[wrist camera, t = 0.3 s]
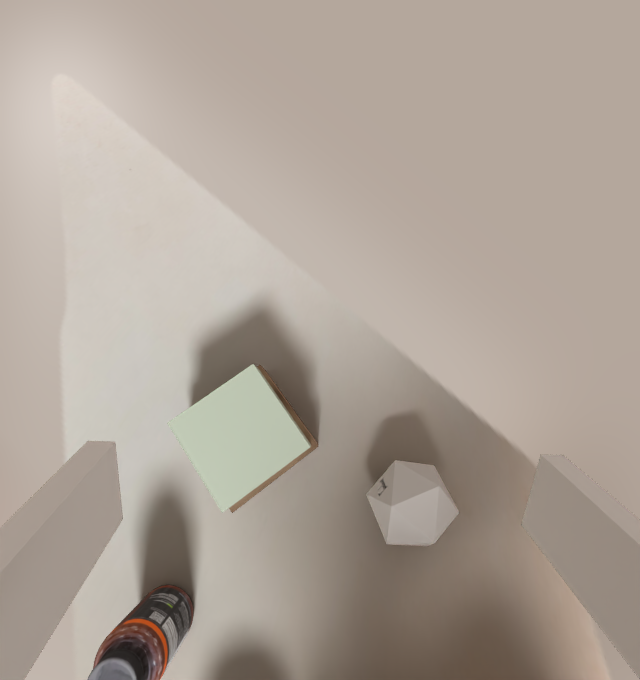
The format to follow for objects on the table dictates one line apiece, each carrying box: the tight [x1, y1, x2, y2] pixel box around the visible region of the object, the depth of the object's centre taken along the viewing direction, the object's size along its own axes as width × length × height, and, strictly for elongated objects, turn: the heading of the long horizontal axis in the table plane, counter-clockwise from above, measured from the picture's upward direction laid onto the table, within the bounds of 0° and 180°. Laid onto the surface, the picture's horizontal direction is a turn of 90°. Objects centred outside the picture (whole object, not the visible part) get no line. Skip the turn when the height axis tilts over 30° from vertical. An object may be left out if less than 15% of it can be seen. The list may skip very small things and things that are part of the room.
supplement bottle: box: [88, 585, 193, 680], centre depth 33 cm, size 6×6×11 cm
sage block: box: [168, 364, 311, 513], centre depth 37 cm, size 10×10×4 cm
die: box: [366, 460, 459, 546], centre depth 38 cm, size 8×9×10 cm
